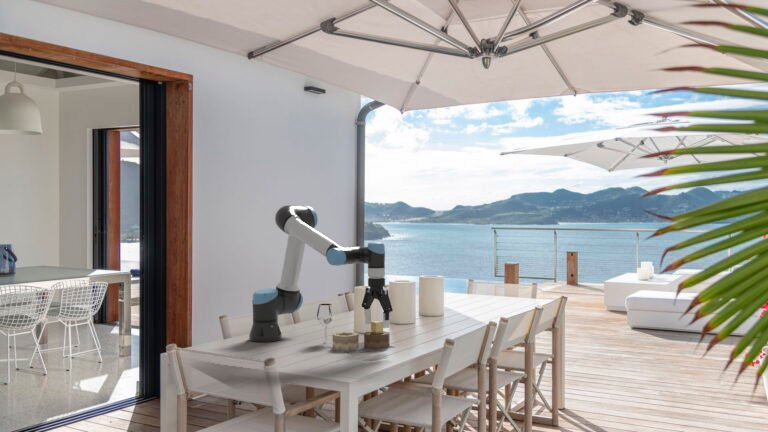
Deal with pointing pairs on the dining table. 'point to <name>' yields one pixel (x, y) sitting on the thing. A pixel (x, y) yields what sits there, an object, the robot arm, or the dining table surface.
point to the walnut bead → (376, 340)
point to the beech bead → (345, 341)
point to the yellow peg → (376, 327)
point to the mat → (360, 349)
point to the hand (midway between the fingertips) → (376, 325)
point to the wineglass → (325, 316)
